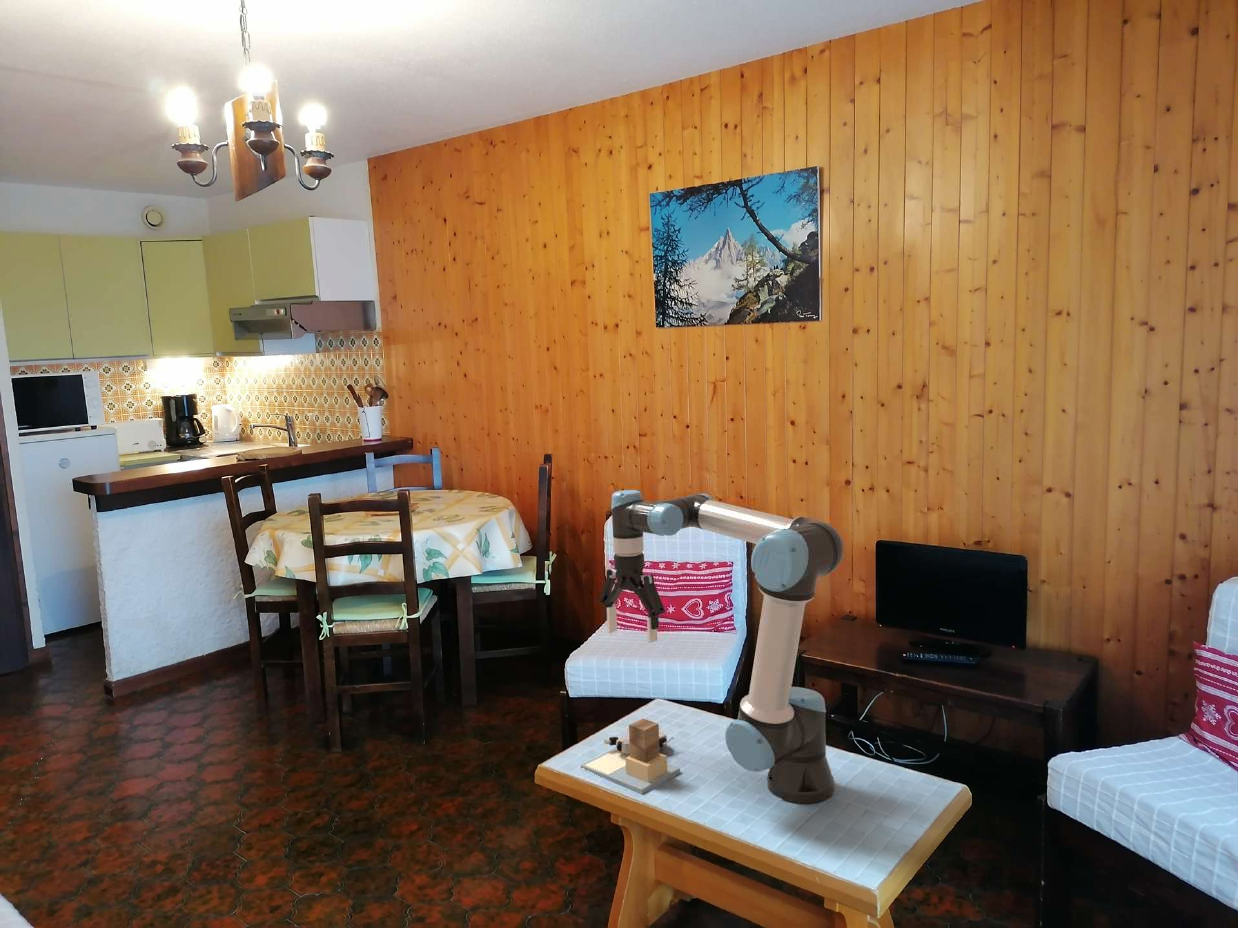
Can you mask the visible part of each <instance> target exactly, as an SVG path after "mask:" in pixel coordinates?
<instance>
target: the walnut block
mask: <svg viewBox="0 0 1238 928" xmlns="http://www.w3.org/2000/svg"><path fill="white" fill-rule="evenodd" d="M659 729H660V728H659V723H658V722H655V721H652V720H649V719H647V718H646V719H645V718H641V719H639V720H636V721H635V722H632V723H630V724H628V730H629V742H630V757H631V758H634V759H636V760H639V761H641V762H644V763H647V762H649V761H651V760H653V759H655V758H656V757H658V756H660V754H661V753H660V749H661V748H660V749H659V731H660V730H659Z"/></svg>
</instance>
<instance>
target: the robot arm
mask: <svg viewBox="0 0 1238 928" xmlns="http://www.w3.org/2000/svg"><path fill="white" fill-rule="evenodd" d="M610 510H611V520H612V539H613V540H612V541H613V543H612V545H613V546H612V547H613V548H612V549H613V553H614V555H613V568H609V569H607V570H606V578H605V581H604V583H603V586H602V589H601V592H600V595H599V598H598V603H599V604H602V605H603V606H604V608H605V609H604V610H605V611H604V612H605V619H606V621H607V623H606V624H607V625H606V626H607V633H608V634H611V633H612V634H613V633H614V632H617V631H618V618H617V605H616V603H615V602H616V601H617V599H618V598H619V597H620V595H621V594H622V593H623V591H629V592H633V593H634V594H635V595H637V596H638V597H637V598H639V600H640V602H641V603H642V605H643V608H644V609H645V611H646V612H647V614H648V616H646V626H647V629H646V630H647V632H646V633H647V644H651V643H654V642H657V641H658V629H659V623H660V622H659V621H660V620H659V619H660V618H659V616H660V615H663V614H665V613H666V610H665V607H664V605H663V602H662V600H661V597H660V594H659V592H658V589H657V587H656V584H655V577H654V575H653V574H652V573H651V574H648V575H646V574H645V575H644V572H643V570H644V569H645V554H644V553H643V552H644V547H645V545H644V533H645V534H652V535H656V536H660V537H663V536H667V537H668V536H669V537H671V536H672V537H673V536H674V535H676V534H678V532H679V531H680V530H681V529H687V528H696V529H700V530H705V531H708V532H712V533H714V534H718V535H722V536H726V537H729V538H734V539H736V540H740V541H744V542H747V543H752V544H755V545H754V548H753V551H752V554H751V559H750V562H751V563H750V564H751V570H752V572H753V574H754V578H755V580H756V582H757V583H758V584H757V588H758V590H759V592H760V593H761V594H762V595H763V600H762V607H761V613H760V620H759V626H758V633H757V639H756V646H755V653H754V658H753V659H754V660H753V666H752V672H751V680H750V685H749V691H748V694H747V695H744V697H742V698H741V700H740V703H739V709H738V710H739V711H738V716H737V719H733V720H732V721H731V722H730V723H729V724H728V725H727V727H726V729H725V733H724V734H725V735H724V738H725V744H726V747H727V750H728V751H729V753H730V755H731V757H732V758H733V760H734V761H735V762H736V763H737V764H738V765H739V766H740V767H742V768H743V769H745V770H747V771H749V772H752V773H760V772H762V771H765V770H768V769H769V770H768V773H767V776H766V777H767V778H766V779H767V780H766V782H767V784H766V785H767V789H768V791H769V792H770V793H771V794H772V795H773V796H776V797H777V798H779V799H781V800H783V801H785V802H790V803H794V804H795V803H796V804H814V803H818V802H823V801H826V800H828V799H830V797H832V796H833V794H834V792H835V779H834V776H833V773H832V771H831V767H830V765H829V762H828V759H827V753H826V752H827V749H826V748H827V744H826V743H827V741H826V738H827V737H826V736H827V734H826V731H827V730H826V727H827V726H826V725H827V724H826V713H827V710H826V703H825V698H824V697H823V695H822V694H821V693H819V692H818V691H816V690H813V689H810V688H807V687H799V686H792V685H793V679H794V673H795V668H796V667H795V666H796V661H797V654H798V649H799V643H800V637H801V631H802V624H803V618H804V615H805V614H804V613H805V607H806V604H807V603H808V602H810V601H812V600H813V599H814V598H815V593H816V588H817V583H818V579H819V578H822V577H826V576H827V575H829V574H831V573H832V572H834V571H835V570H837V569H838V568H839V566H840V565H841V563H842V561H843V559H844V553H845V544H844V540H843V537H842V535H841V534H840V532H839V531H838V529H836V528H835V527H834V526H833V525H831V524H829V523H828V522H824V521H822V520H817V519H813V518H809V517H805V516H804V517H803V516H797V517H795V518H794V519H792V518H790V517H789V518H788V517H784V516H780V515H776V514H772V513H767V512H763V511H760V510H755V509H752V508H745V507H743V506H738V505H735V504H734V505H733V504H729V503H726V502H725V503H724V502H721V501H718V500H717V501H716V500H715V499H714V498H713V497H712V496H711V495H709V494H708V493H693V494H690V495H685V496H683V497H677V498H676V497H675V498H672V499H667V500H666V499H665V500H662V501H646V500H644V498H643V495H642V492H641V491H639V490H635V489H634V490H633V489H627V490H626V489H624V490H617V491H614V492H613V493H612V495H611V508H610ZM616 579H617V581H616Z"/></svg>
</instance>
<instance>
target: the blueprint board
mask: <svg viewBox="0 0 1238 928" xmlns="http://www.w3.org/2000/svg"><path fill="white" fill-rule="evenodd" d="M581 768H584V769H585V770H588V771H590V772H592V773H594V774H593V775H595V774H596V775H595V776H597V775H598V776H597V777H599V776H600V778H602V777H603V778H602V779H604V778H605V780H606V779H607V780H606V781H609V782H611V783H614V784H616V785H619V786H621V787H623V788H626V789H628V790H630V791H631V792H632V791H633V792H635V793H637V794H639V795H643V794H645V793H646V792H648V791H651V790H652V789H654V788H656V787H658V786H659V785H661V784H662V783H664V782H666V781H668V780H669V779H670V780H671V778H673V777H675V776H677V775H679V774H681V768H680V766H676V765H674V764H671V763H668V755H666V754H663V753H660V756H658V757H656V758H655V759H653V760H651V761H649V762H647V763H644V762H641V761H639V760H636V759H634V758H631V757H630V755H627V754H625V753H621V751H617V750H616V747H614V748H613V749H611V750H610V749H609V750H608V751H606V752H604V753H602V754H600V755H598V756H596V757H594V758H592V759H590V760H587V761H586V762H584V763H581V764H580V769H581ZM585 770H584V771H585ZM590 772H589V773H590ZM592 773H591V774H592Z"/></svg>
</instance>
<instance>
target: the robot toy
mask: <svg viewBox="0 0 1238 928" xmlns="http://www.w3.org/2000/svg"><path fill="white" fill-rule="evenodd" d="M674 738H675V736H672V737H671V738H669V739H668V736H667V735H666V734H665V733H664V732H663V731H662V730H659V749H662V748H665V747H666V745H667V744H668V743H669V742H670V741H672V740H673V739H674ZM603 743H604V744H605V745H609V746H615V748H616V750H617V751H621V753H625V754H627V755H630V742H629V729H628V730H627V731H626V734H623V735H620V736H619V737H618V736H611V737H609V738H608V739H604V740H603Z"/></svg>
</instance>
